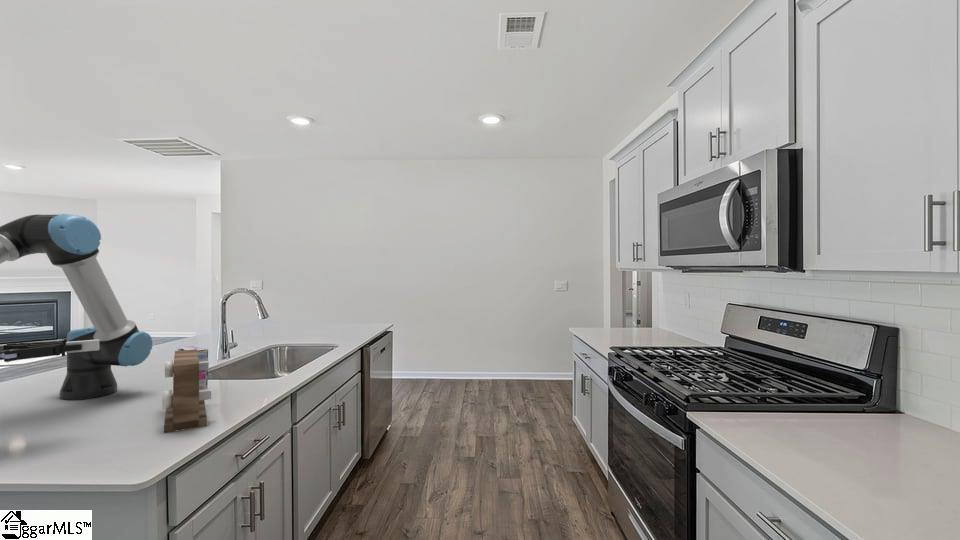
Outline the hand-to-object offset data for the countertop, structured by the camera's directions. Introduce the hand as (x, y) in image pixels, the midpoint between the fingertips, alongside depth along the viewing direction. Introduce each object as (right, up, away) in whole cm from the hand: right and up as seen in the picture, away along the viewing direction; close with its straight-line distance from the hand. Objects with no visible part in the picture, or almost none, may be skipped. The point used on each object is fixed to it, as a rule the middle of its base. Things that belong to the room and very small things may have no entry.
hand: (98, 344), depth 121 cm
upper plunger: (+10, -13, +22) cm, 27 cm away
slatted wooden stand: (+14, -24, +14) cm, 31 cm away
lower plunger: (+19, -19, +7) cm, 28 cm away
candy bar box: (+3, -24, +35) cm, 43 cm away
